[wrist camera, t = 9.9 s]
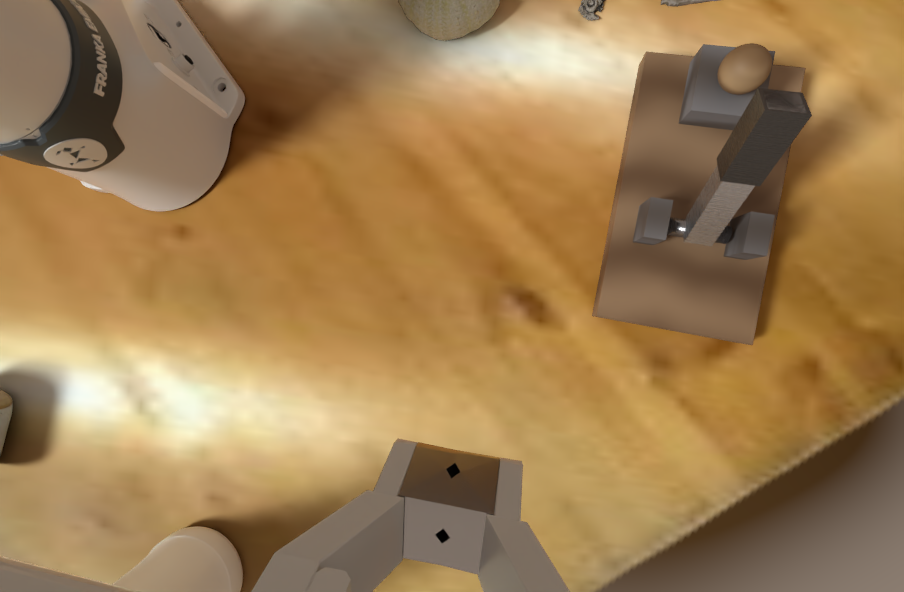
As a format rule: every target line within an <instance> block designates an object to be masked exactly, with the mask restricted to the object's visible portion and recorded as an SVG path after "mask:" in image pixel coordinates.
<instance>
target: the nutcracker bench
mask: <svg viewBox="0 0 904 592" xmlns="http://www.w3.org/2000/svg"><path fill="white" fill-rule="evenodd" d="M774 55H775V51H768V50H767V49H766V48H765V47H763V46H761V45H758V44H745V45H741V46H739V47H737V48H736V47H726V46H715V45H705V44H703V46H702V47H701V48H700V50H699V51H698V52H697V54H696V55H695V56H694V57H693V56H683V55H673V54H663V53H653V52H646V53H645V55H644V57H643V59H642V61H641V62H640V64H639V68H638V74H637V79H636V84H635V90H634V95H633V100H632V106H631V111H630V116H629V122H628V127H627V132H626V138H625V143H624V149H623V154H622V159H621V165H620V170H619V175H618V181H617V186H616V191H615V197H614V202H613V207H612V213H611V218H610V223H609V229H608V234H607V239H606V245H605V250H604V255H603V261H602V266H601V271H600V277H599V282H598V287H597V293H596V298H595V304H594V309H593V314H592V316H595V317H601V318H606V319H612V320H617V321H623V322H628V323H633V324H639V325H644V326H650V327H655V328H661V329H666V330H672V331H677V332H683V333H688V334H693V335H699V336H704V337H710V338H715V339H721V340H726V341H732V342H737V343H743V344H748V345H753V340H754V335H755V330H756V325H757V319H758V314H759V309H760V304H761V298H762V293H763V288H764V283H765V277H766V272H767V267H768V262H769V256H770V251H771V246H772V241H773V235H774V230H775V225H776V220H777V214H778V209H779V204H780V199H781V193H782V188H783V183H784V178H785V173H786V167H787V162H788V157H789V152H790V146H791V144H790V146H789V147H788V149H787V150H786V151H785V153H784V154H783V155H782V157H781V158H780V160H779V161H778V162H777V164H776V165H775V166H774V168H773V169H772V170H771V172H770V173H769V175H768V176H767V177H766V179H765V180H764V181H763V183H762V184H761V186H755V187H754V188H753V190H752V191H751V192H750V194H749V195H748V197H747V198H746V199H745V201H744V202H743V203H742V205H741V206H740V208H739V209H738V210H737V212H736V213H735V215H734V216H733V217H732V219H731V220H730V222H729V223H728V224H727V226H731V227H732V235H731V238H730V240H729V242H728V243H727V244H721V243H714V244H713V245H712V247H711V246H704V245H698V244H692V243H685V242H684V238H682V237H676V236H669V235H667V232H668V226H669V221H670V217H673V218H679V219H685V218H686V216H687V215H688V213H689V211H690V210H691V208H692V206H693V205H694V203H695V201H696V200H697V198H698V196H699V195H700V193H701V191H702V190H703V188H704V186H705V185H706V183H707V181H708V179H709V178H710V176H711V174H712V173H713V171H714V169H715V168H716V166H717V160H716V159H717V157H718V155H719V154H720V152H721V150H722V148H723V147H724V145H725V143H726V142H727V140H728V138H729V136H730V135H731V133H732V131H733V130H734V128H735V126H736V125H737V123H738V121H739V119H740V118H741V116H742V114H743V113H744V111H745V109H746V107H747V106H748V104H749V102H750V101H751V99H752V97H753V96H754V94H755V92H756V90H757V89H758V88H764V89H773V90H782V91H791V92H801V89H802V83H803V78H804V73H805V68H801V67H791V66H781V65H773V60H774Z"/></svg>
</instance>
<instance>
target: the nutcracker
mask: <svg viewBox="0 0 904 592" xmlns="http://www.w3.org/2000/svg"><path fill="white" fill-rule="evenodd" d="M604 1H605V0H582V1H581V3H582V4H581V5H580V7H579V10H578V11H580V13H581V14H582V15H584V16H583V17H586V19H588V20H590V19H591V20H593V19H595V20H597V19H599V17H598V16H597V15H595V14H594V12H595V11H597V10H598V11H599V12H601V10H602V9H603V8H602V7H603V5H604V4H603V2H604ZM708 1H719V0H662V1H661V5H663V4H666V5H667V6H682V5H688V4H694V3H702V2H708Z"/></svg>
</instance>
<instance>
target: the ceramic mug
mask: <svg viewBox="0 0 904 592" xmlns="http://www.w3.org/2000/svg"><path fill="white" fill-rule="evenodd" d="M12 408H13V402H12V398H11V397H10V395H9V394H7V393H6V392H4V391H3V390H0V456H1V452H2V449H3V445H4V441H5V437H6V433H7V429H8V426H9V422H10V419H11V415H12Z"/></svg>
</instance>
